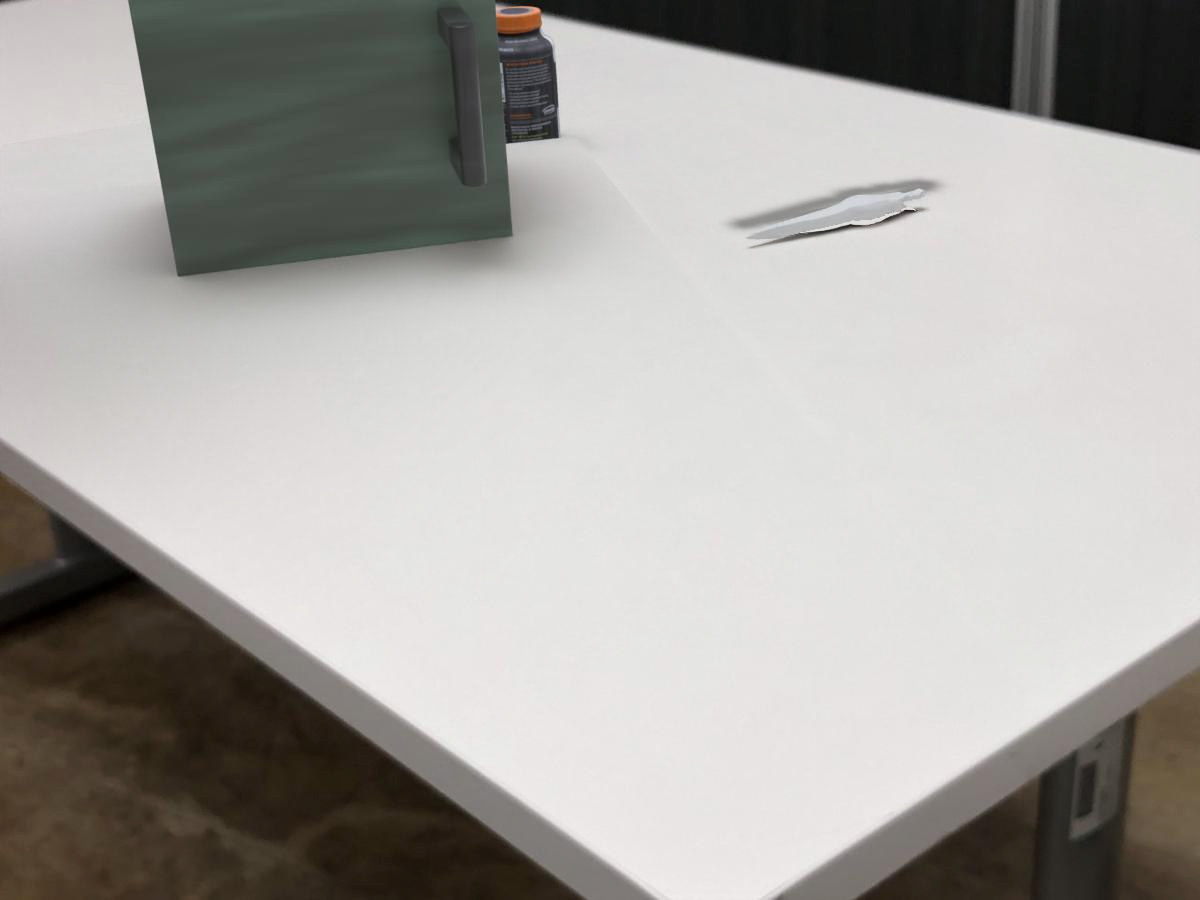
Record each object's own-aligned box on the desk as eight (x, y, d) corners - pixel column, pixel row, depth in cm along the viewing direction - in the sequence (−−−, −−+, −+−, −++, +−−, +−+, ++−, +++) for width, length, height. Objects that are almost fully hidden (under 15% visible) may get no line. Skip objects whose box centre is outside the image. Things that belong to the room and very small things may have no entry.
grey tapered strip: (911, 204, 115) (912, 179, 114) (934, 214, 112) (935, 188, 112) (735, 244, 109) (735, 218, 108) (756, 255, 107) (756, 229, 106)
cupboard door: (530, 285, 103) (503, -101, 92) (180, 330, 99) (108, -69, 88) (511, 250, 109) (483, -116, 98) (181, 291, 105) (113, -86, 94)
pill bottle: (569, 137, 134) (561, 1, 128) (550, 157, 129) (542, 17, 123) (501, 135, 135) (491, 1, 130) (481, 155, 130) (470, 17, 125)
